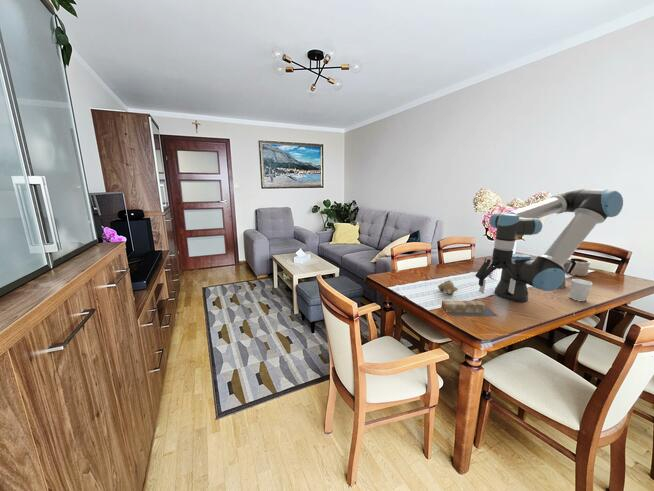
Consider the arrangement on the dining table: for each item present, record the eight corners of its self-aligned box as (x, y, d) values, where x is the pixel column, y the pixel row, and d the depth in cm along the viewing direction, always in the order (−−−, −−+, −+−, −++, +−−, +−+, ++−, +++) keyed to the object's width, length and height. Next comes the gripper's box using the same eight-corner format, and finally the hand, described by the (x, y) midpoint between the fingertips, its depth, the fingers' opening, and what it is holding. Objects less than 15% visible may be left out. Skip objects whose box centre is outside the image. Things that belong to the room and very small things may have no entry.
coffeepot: (549, 287, 160) (555, 257, 155) (538, 281, 169) (543, 253, 165) (577, 288, 159) (584, 258, 155) (564, 282, 168) (570, 253, 164)
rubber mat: (485, 306, 136) (485, 305, 136) (498, 317, 126) (498, 316, 125) (443, 305, 137) (443, 304, 137) (452, 316, 126) (452, 315, 126)
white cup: (573, 295, 150) (577, 277, 147) (591, 301, 142) (595, 283, 140) (564, 297, 147) (568, 279, 144) (581, 303, 140) (586, 285, 137)
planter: (567, 270, 190) (570, 256, 188) (588, 274, 182) (591, 260, 180) (563, 273, 184) (566, 259, 181) (585, 278, 175) (588, 263, 173)
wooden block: (479, 300, 132) (442, 300, 132) (484, 304, 128) (445, 304, 128) (478, 308, 133) (441, 308, 133) (483, 312, 129) (444, 312, 129)
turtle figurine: (451, 279, 155) (458, 281, 143) (454, 291, 155) (462, 294, 143) (436, 283, 156) (442, 285, 144) (440, 295, 156) (446, 298, 144)
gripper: (525, 246, 127) (517, 289, 132) (471, 246, 127) (465, 288, 132) (537, 251, 120) (528, 296, 125) (479, 250, 120) (473, 295, 125)
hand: (496, 292), depth 129 cm, fingers open, 13 cm apart
